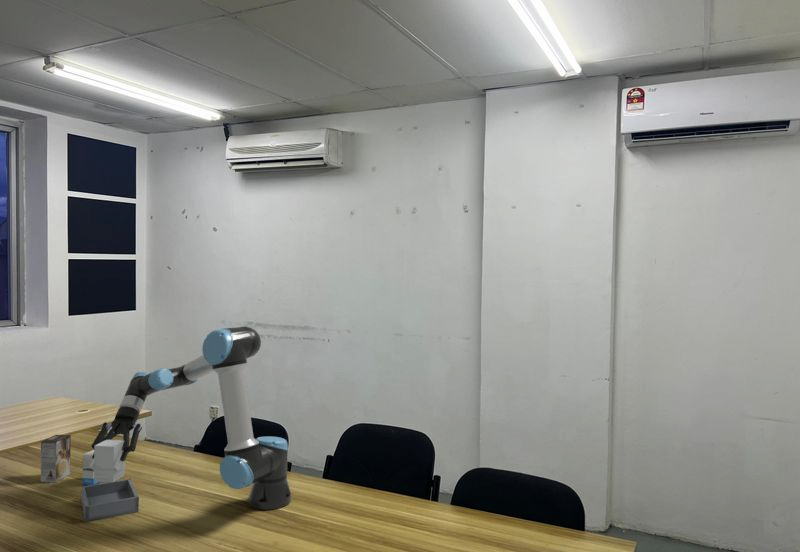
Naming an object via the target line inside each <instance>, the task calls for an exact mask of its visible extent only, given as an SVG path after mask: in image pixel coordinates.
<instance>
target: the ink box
mask: <svg viewBox="0 0 800 552" xmlns="http://www.w3.org/2000/svg"><path fill="white" fill-rule="evenodd" d="M93 454H94V449H92V450H90V451H87V452H85V453H84V454H82V485H83V486H84V485H85V486H89V485H95V484H100V482H99V481H94V470H92V469H91V467H90V465H91V463H92V461H93V459H92V456H93Z"/></svg>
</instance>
